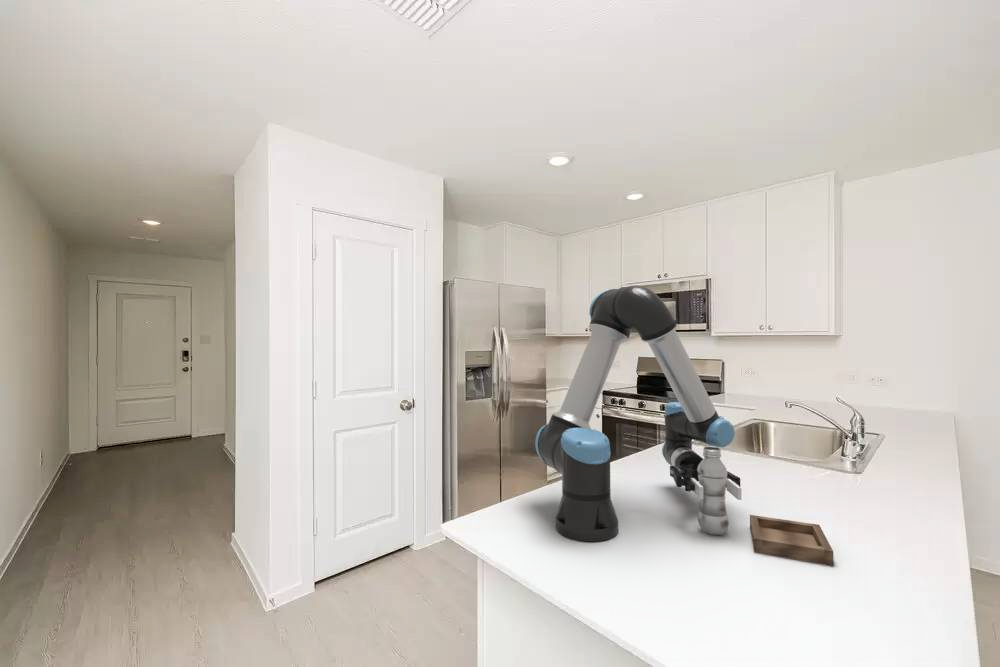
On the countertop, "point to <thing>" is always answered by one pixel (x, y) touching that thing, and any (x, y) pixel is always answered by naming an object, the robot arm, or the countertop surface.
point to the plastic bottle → (713, 493)
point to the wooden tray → (790, 540)
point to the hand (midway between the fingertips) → (720, 493)
